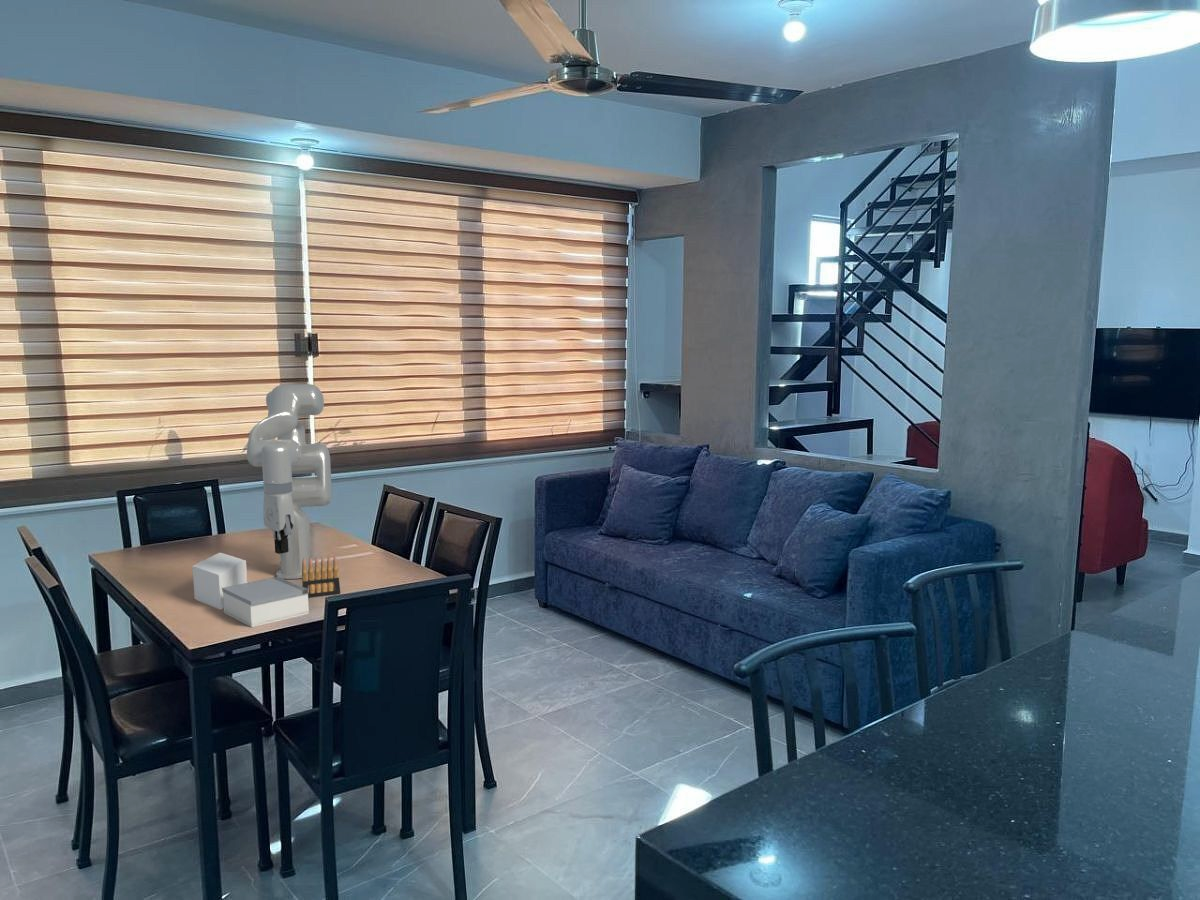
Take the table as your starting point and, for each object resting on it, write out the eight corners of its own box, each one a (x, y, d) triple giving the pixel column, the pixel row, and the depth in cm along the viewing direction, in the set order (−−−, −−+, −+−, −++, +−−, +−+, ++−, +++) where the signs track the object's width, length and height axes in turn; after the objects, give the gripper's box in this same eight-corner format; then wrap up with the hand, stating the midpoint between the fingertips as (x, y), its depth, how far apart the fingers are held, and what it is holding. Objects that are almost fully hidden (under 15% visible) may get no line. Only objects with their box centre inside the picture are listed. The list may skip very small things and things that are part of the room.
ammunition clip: (339, 592, 259) (337, 553, 258) (340, 594, 258) (338, 554, 256) (302, 596, 255) (300, 557, 254) (302, 598, 253) (300, 558, 252)
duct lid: (222, 591, 240) (221, 587, 240) (277, 580, 251) (277, 576, 251) (251, 605, 227) (251, 601, 226) (308, 592, 238) (308, 589, 238)
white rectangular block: (247, 581, 272) (245, 550, 271) (248, 607, 246) (246, 572, 245) (196, 587, 267) (194, 554, 266) (192, 613, 240) (190, 577, 239)
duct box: (224, 612, 240) (222, 591, 240) (283, 599, 252) (281, 579, 252) (251, 627, 228) (250, 605, 227) (312, 612, 240) (311, 591, 239)
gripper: (253, 486, 242) (257, 550, 245) (277, 494, 231) (281, 560, 234) (279, 482, 247) (282, 545, 250) (303, 490, 237) (307, 555, 240)
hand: (281, 552), depth 242 cm, fingers closed
